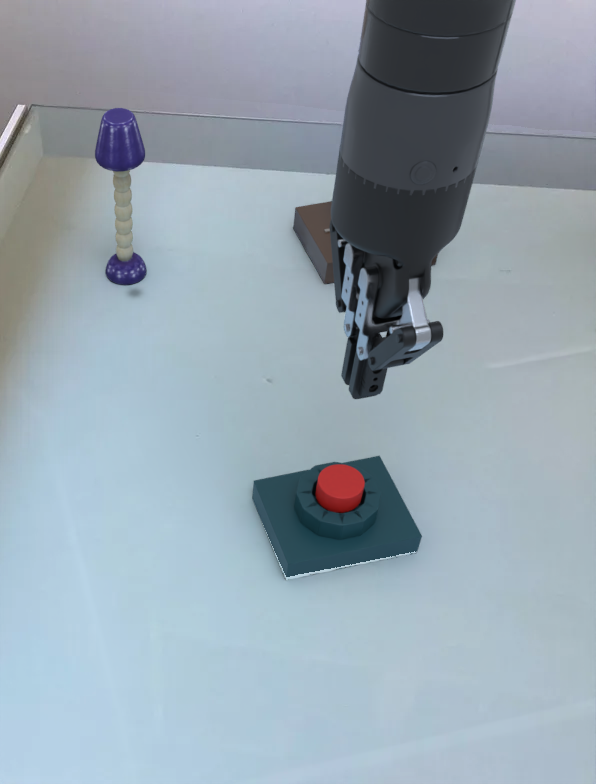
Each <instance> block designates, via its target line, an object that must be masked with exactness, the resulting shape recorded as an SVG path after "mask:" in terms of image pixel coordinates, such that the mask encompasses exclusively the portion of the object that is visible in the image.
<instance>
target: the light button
mask: <svg viewBox="0 0 596 784" xmlns="http://www.w3.org/2000/svg"><path fill="white" fill-rule="evenodd" d="M364 485H365V481H364V478H363V476H362V474H361V473H360V472H359V471H358V470H356V469H355V468H353V467H351V466H348V465H343V464H336V465H331V466H328V467H326V468H325V469H323V470H322V471H321V472H320V474H319V476H318V481H317V487H316V493H315V495H316V499H317V501H318V503H319V504H320V505H321V506H322V507H323V508H325V509H326V510H329V511H331V512H336V513H345V512H349V511H352V510H353V509H355V508H356V507H357V506H358V505H359V504H360V502H361V498H362V494H363V490H364Z"/></svg>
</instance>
